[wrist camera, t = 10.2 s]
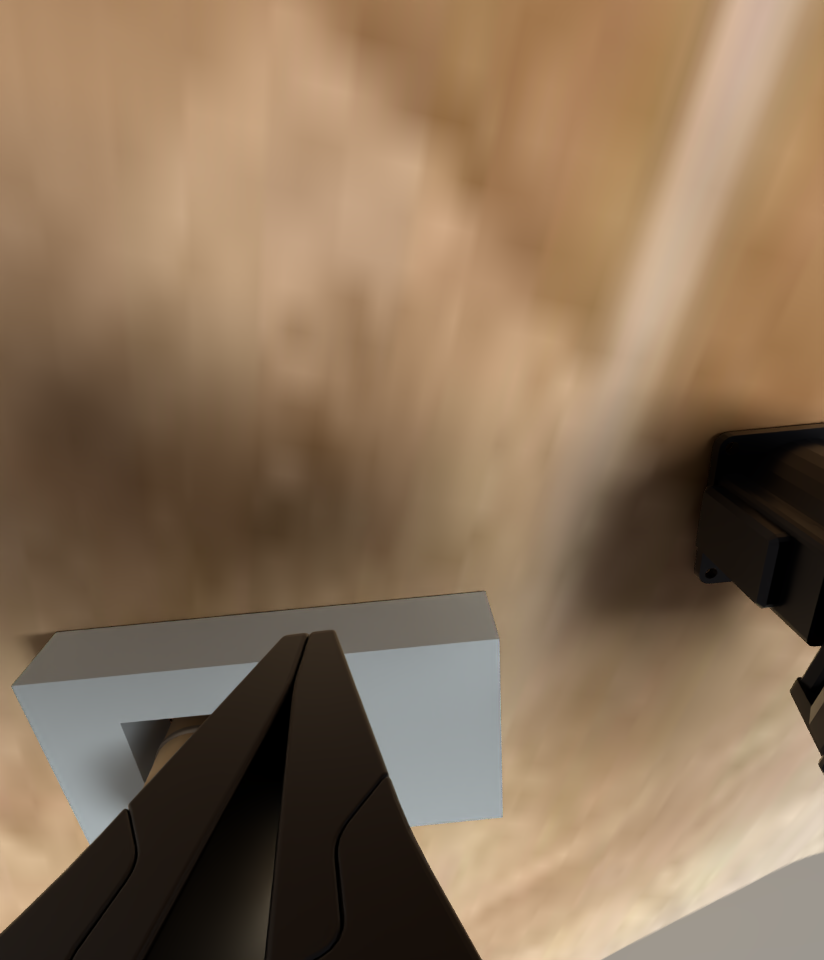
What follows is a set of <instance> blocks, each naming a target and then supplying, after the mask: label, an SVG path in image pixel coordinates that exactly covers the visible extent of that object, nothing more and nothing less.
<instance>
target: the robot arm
mask: <svg viewBox="0 0 824 960" xmlns="http://www.w3.org/2000/svg"><path fill="white" fill-rule="evenodd" d="M731 442H733V445H732V447H731V448H730V449H729V450H727V451H726V447H727V445H728V444H729V443H731ZM696 546H697V554H696V561H695V567H694V573H695V574H696V576H697V577H698V578H699V579H700V580H701V581H702V582H704V583H709V584H710V583H720V582H731V581H732V582H733V583H734V584H736V585H737V586H738V587H739V588H740V589H741V590H742V591H743V592H744V593H745V594H746V595H747V596H748V597H749V598H750V599H751V600H752V601H753V602H754V603H755V604H756V605H757V606H759V607H760V608H770V609H771V610H772V611H773V612H774V613H776V614H777V615H778V616H779V617H780V618H781V619H782V620H783V621H784V622H785V623H786V624H787V625H788V626H789V627H790V628H791V629H792V630H793V631H795V632H796V633H797V634H798V635H799V636H800V637H801V638H802V639H803V640H804V641H805V642H806V643H807V644H808V645H809V646H821V648H820V649H819V651H818V652H817V654H816V656H815V657H814V659H813V661H812V662H811V664H810V665H809V667H808V669H807V670H806V672H805V674H804V675H803V677H798V678H797V680H796V681H795V683H794V684H793V686H792V688H791V689H790V693H791V695H792V697H793V699H794V701H795V703H796V705H797V707H798V709H799V712H800V714H801V716H802V718H803V720H804V722H805V724H806V726H807V728H808V730H809V732H810V734H811V736H812V738H813V740H814V742H815V744H816V746H817V748H818V750H819V752H820V754H821V756H822V757H821V759H820V760H819V763H818V765H819V767H820V769H821V771H822V773H823V774H824V423H822V424H811V425H800V426H789V427H779V428H768V429H757V430H746V431H735V432H727V433H723V434H722V435H720V436H719V437H718V438H717V439H716V440H715V442H714V445H713V450H712V457H711V463H710V470H709V476H708V483H707V488H706V489H705V491H704V493H703V499H702V506H701V512H700V519H699V525H698V532H697V539H696ZM711 568H712V569H711ZM708 569H711V570H710V571H709V572H708V573H706V571H707V570H708ZM128 809H129V810H128ZM128 809H123V810H122V811H121V812H120V813H119V814H118V815H117V817H116V818H115V819H114V820H113V821H112V822H111V823H110V824H109V825H108V826H107V827H106V828H105V830H104V831H103V832H102V833H101V834H100V835H99V836H98V837H97V838H96V839H95V840H94V841H93V842H92V843H91V844H90V845H89V846H88V847H87V848H86V850H85V851H84V852H83V853H82V854H81V855H80V856H79V857H78V858H77V859H76V860H75V861H74V862H73V863H72V864H71V865H70V866H69V867H68V868H67V869H66V870H65V871H64V872H63V873H62V874H61V875H60V876H59V877H58V878H57V879H56V880H55V881H54V882H53V883H52V884H51V885H50V886H49V887H48V888H47V889H46V890H45V891H44V892H43V893H42V894H41V895H40V896H39V897H38V898H37V899H36V900H35V901H34V902H33V903H32V904H31V905H30V906H29V907H28V908H27V909H26V910H25V911H24V912H23V913H22V914H21V915H20V916H19V917H17V918H16V919H15V920H14V921H13V922H12V923H11V924H10V925H9V926H8V927H7V928H6V929H5V930H4V931H3V932H2V933H1V934H0V960H482V959H481V957H480V956H479V954H478V952H477V950H476V948H475V947H474V945H473V943H472V941H471V939H470V938H469V936H468V934H467V932H466V931H465V929H464V927H463V925H462V923H461V922H460V920H459V918H458V916H457V915H456V913H455V911H454V909H453V907H452V906H451V904H450V902H449V900H448V898H447V897H446V895H445V893H444V891H443V890H442V888H441V886H440V884H439V882H438V881H437V879H436V877H435V875H434V873H433V872H432V870H431V868H430V866H429V864H428V862H427V860H426V858H425V856H424V854H423V852H422V850H421V848H420V847H419V845H418V843H417V841H416V839H415V837H414V835H413V833H412V830H411V828H410V826H409V823H408V821H407V818H406V816H405V814H404V811H403V809H402V807H401V804H400V802H399V799H398V796H397V794H396V791H395V788H394V786H393V783H392V780H391V779H390V777H389V773H388V770H387V768H386V765H385V762H384V760H383V757H382V754H381V752H380V749H379V746H378V744H377V741H376V738H375V735H374V733H373V730H372V727H371V725H370V722H369V719H368V717H367V714H366V711H365V709H364V706H363V703H362V701H361V698H360V695H359V693H358V690H357V687H356V684H355V682H354V679H353V676H352V674H351V671H350V668H349V666H348V663H347V660H346V658H345V655H344V652H343V650H342V647H341V644H340V642H339V639H338V636H337V634H336V631H335V630H332V629H331V630H323V631H315V632H312V633H311V634H310V635H309V634H308V633H298V634H290V635H285V636H283V637H282V638H281V639H280V640H279V641H278V642H277V643H276V644H275V645H274V646H273V648H272V649H271V650H270V651H269V652H268V653H267V654H266V655H265V656H264V657H263V658H262V659H261V661H260V662H259V663H258V664H257V665H256V666H255V667H254V668H253V669H252V670H251V671H250V672H249V674H248V675H247V676H246V677H245V678H244V679H243V680H242V681H241V682H240V683H239V684H238V685H237V687H236V688H235V689H234V690H233V691H232V692H231V693H230V694H229V695H228V696H227V697H226V699H225V700H224V701H223V702H222V703H221V704H220V705H219V706H218V707H217V708H216V709H215V710H214V712H213V713H212V714H211V715H210V716H209V717H208V718H207V719H206V720H205V721H204V722H203V723H202V725H201V726H200V727H199V728H198V729H197V730H196V731H195V732H194V733H193V734H192V735H191V737H190V738H189V739H188V740H187V741H186V742H185V743H184V744H183V745H182V746H181V747H180V748H179V750H178V751H177V752H176V753H175V754H174V755H173V756H172V757H171V758H170V759H169V760H168V761H167V763H166V764H165V765H164V766H163V767H162V768H161V769H160V770H159V771H158V772H157V773H156V774H155V776H154V777H153V778H152V779H151V780H150V781H149V782H148V783H147V784H146V785H145V786H144V788H143V789H142V790H141V791H140V792H139V793H138V794H137V795H136V796H135V797H134V798H133V799H132V801H131V802H130V803H129V804H128Z"/></svg>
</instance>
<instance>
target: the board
mask: <svg viewBox="0 0 824 960" xmlns="http://www.w3.org/2000/svg"><path fill="white" fill-rule="evenodd" d="M331 629H332V630H335V631H336V634H337V636H338V639H339V642H340V644H341V647H342V650H343V652H344V655H345V658H346V660H347V663H348V666H349V668H350V671H351V674H352V676H353V679H354V682H355V684H356V687H357V690H358V693H359V695H360V698H361V701H362V703H363V706H364V709H365V711H366V714H367V717H368V719H369V722H370V725H371V727H372V730H373V733H374V735H375V738H376V741H377V744H378V746H379V749H380V752H381V754H382V757H383V760H384V762H385V765H386V768H387V770H388V773H389V777H390V779H391V780H392V783H393V786H394V788H395V791H396V794H397V796H398V799H399V802H400V804H401V807H402V809H403V811H404V814H405V816H406V818H407V821H408V823H409V826H410V827H412V826H422V825H432V824H442V823H452V822H462V821H471V820H481V819H491V818H501V817H503V807H502V751H501V696H500V640H499V635H498V632H497V629H496V625H495V622H494V618H493V615H492V612H491V608H490V605H489V602H488V598H487V595H486V591H483V592H472V593H462V594H451V595H441V596H431V597H420V598H410V599H399V600H389V601H378V602H368V603H357V604H347V605H337V606H326V607H316V608H305V609H295V610H284V611H274V612H263V613H253V614H243V615H232V616H222V617H211V618H201V619H190V620H180V621H169V622H159V623H149V624H138V625H128V626H117V627H107V628H96V629H86V630H75V631H65V632H56V633H55V634H54V635H53V637H52V638H51V639H50V640H49V641H48V643H47V644H46V645H45V646H44V647H43V649H42V650H41V651H40V652H39V653H38V655H37V656H36V657H35V658H34V659H33V661H32V662H31V663H30V664H29V665H28V667H27V668H26V669H25V670H24V671H23V673H22V674H21V675H20V676H19V677H18V678H17V680H16V681H15V682H14V683H13V684H12V686H11V687H12V689H13V691H14V693H15V695H16V697H17V699H18V701H19V703H20V705H21V707H22V709H23V711H24V713H25V715H26V717H27V719H28V721H29V723H30V725H31V727H32V729H33V731H34V733H35V735H36V737H37V739H38V741H39V743H40V745H41V747H42V749H43V752H44V754H45V756H46V758H47V760H48V762H49V764H50V766H51V768H52V770H53V772H54V774H55V776H56V778H57V780H58V782H59V784H60V786H61V788H62V790H63V792H64V794H65V796H66V798H67V800H68V802H69V804H70V806H71V808H72V810H73V812H74V814H75V816H76V818H77V820H78V822H79V824H80V826H81V828H82V830H83V832H84V834H85V836H86V838H87V840H88V842H89V844H91V843H92V842H93V841H94V840H95V839H96V838H97V837H98V836H99V835H100V834H101V833H102V832H103V831H104V830H105V828H106V827H107V826H108V825H109V824H110V823H111V822H112V821H113V820H114V819H115V818H116V817H117V815H118V814H119V813H120V812H121V811H122V810H123V809H128V804H129V803H130V802H131V801H132V799H133V798H134V797H135V796H136V795H137V794H138V793H139V792H140V791H141V790H142V789H143V787H144V784H145V782H146V780H147V777H148V775H149V773H150V771H151V768H152V766H153V764H154V759H155V756H156V753H157V751H158V748H159V746H160V745H161V743H162V742H163V740H164V739H165V736H166V734H167V732H168V729H169V727H170V725H171V724H170V721H169V718H178V717H188V716H199V715H209V714H212V713H213V712H214V710H215V709H216V708H217V707H218V706H219V705H220V704H221V703H222V702H223V701H224V700H225V699H226V697H227V696H228V695H229V694H230V693H231V692H232V691H233V690H234V689H235V688H236V687H237V685H238V684H239V683H240V682H241V681H242V680H243V679H244V678H245V677H246V676H247V675H248V674H249V672H250V671H251V670H252V669H253V668H254V667H255V666H256V665H257V664H258V663H259V662H260V661H261V659H262V658H263V657H264V656H265V655H266V654H267V653H268V652H269V651H270V650H271V649H272V648H273V646H274V645H275V644H276V643H277V642H278V641H279V640H280V639H281V638H282V637H283V636H285V635H290V634H298V633H308V634H309V635H310V634H311V633H312V632H315V631H323V630H331ZM128 810H129V809H128Z"/></svg>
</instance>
